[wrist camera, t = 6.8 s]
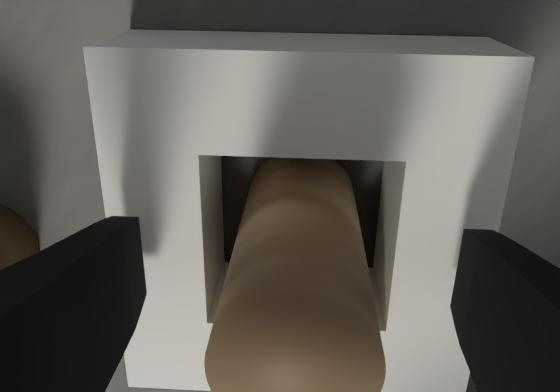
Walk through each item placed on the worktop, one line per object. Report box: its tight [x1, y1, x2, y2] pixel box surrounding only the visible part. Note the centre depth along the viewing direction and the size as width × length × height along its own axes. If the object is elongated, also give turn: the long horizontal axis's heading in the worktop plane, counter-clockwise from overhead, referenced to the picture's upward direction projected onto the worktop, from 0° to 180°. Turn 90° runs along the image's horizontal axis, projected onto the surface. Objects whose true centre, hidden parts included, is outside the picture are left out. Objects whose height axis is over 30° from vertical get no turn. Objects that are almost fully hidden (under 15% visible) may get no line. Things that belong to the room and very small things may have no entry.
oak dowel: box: [204, 157, 386, 392], centre depth 12 cm, size 3×3×7 cm
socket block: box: [83, 29, 535, 392], centre depth 14 cm, size 9×9×3 cm
